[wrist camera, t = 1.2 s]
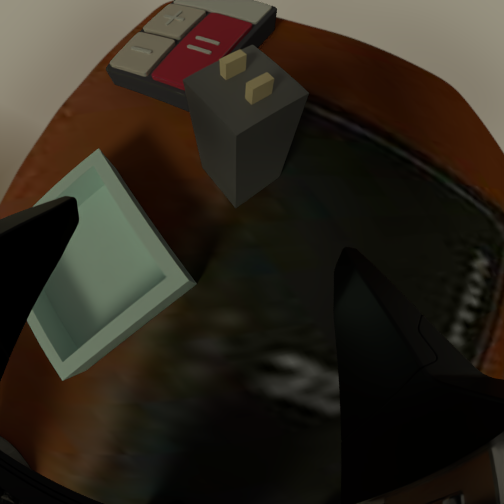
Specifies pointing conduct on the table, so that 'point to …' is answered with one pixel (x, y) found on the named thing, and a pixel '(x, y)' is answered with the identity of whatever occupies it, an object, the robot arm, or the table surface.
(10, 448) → the coffeepot
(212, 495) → the table surface
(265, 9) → the calculator
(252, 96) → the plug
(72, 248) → the walled box
